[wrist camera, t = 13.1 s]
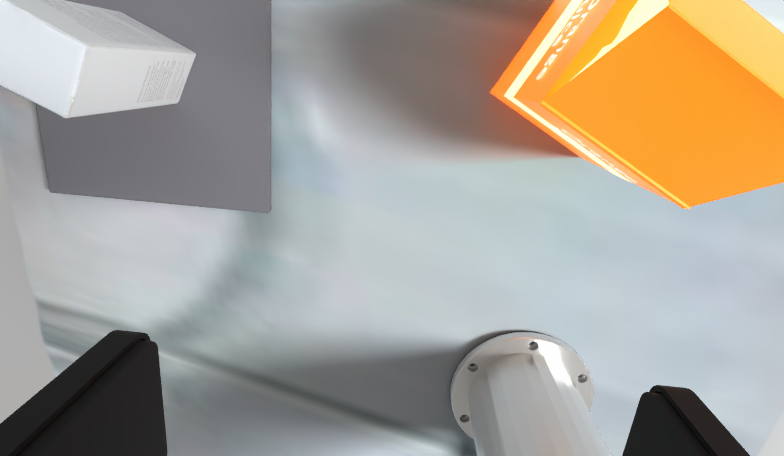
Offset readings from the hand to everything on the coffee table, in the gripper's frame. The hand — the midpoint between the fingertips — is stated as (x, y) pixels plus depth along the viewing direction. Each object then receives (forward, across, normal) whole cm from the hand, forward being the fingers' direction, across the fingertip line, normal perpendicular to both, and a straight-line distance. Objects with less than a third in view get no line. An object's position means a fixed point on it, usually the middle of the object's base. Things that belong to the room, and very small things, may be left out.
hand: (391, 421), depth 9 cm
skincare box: (+28, +20, -6) cm, 34 cm away
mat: (+28, +20, -6) cm, 35 cm away
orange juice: (+28, -11, -7) cm, 31 cm away
